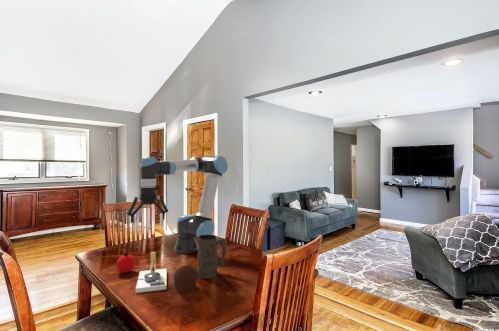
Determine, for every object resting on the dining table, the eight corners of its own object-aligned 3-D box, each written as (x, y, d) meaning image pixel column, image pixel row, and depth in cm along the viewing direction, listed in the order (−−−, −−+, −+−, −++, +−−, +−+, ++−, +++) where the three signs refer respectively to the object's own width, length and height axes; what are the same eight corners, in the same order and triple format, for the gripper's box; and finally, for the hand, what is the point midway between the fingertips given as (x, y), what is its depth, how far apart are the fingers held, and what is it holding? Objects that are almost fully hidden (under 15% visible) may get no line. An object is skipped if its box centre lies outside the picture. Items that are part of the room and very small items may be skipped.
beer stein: (198, 280, 132) (201, 239, 132) (192, 272, 141) (195, 234, 142) (227, 276, 139) (230, 238, 139) (219, 269, 148) (222, 233, 149)
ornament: (117, 277, 135) (117, 257, 135) (115, 270, 142) (115, 252, 142) (136, 273, 140) (136, 254, 140) (133, 267, 147) (133, 249, 147)
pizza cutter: (159, 280, 126) (159, 259, 125) (143, 282, 123) (143, 261, 123) (160, 270, 138) (160, 251, 138) (145, 271, 136) (146, 252, 136)
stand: (166, 272, 141) (166, 265, 141) (166, 289, 122) (166, 280, 122) (139, 275, 137) (139, 267, 137) (135, 293, 118) (135, 284, 118)
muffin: (199, 293, 119) (199, 270, 119) (173, 296, 115) (173, 273, 115) (196, 282, 130) (196, 261, 130) (173, 284, 127) (173, 263, 127)
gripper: (170, 185, 150) (169, 223, 150) (121, 187, 136) (120, 228, 136) (174, 186, 144) (173, 225, 144) (123, 188, 130) (123, 231, 130)
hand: (148, 227), depth 140 cm, fingers open, 13 cm apart
